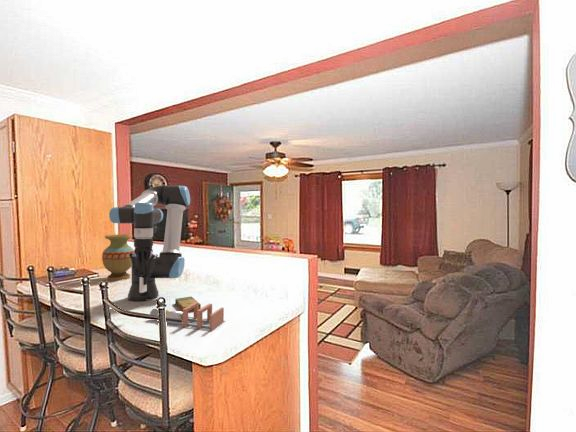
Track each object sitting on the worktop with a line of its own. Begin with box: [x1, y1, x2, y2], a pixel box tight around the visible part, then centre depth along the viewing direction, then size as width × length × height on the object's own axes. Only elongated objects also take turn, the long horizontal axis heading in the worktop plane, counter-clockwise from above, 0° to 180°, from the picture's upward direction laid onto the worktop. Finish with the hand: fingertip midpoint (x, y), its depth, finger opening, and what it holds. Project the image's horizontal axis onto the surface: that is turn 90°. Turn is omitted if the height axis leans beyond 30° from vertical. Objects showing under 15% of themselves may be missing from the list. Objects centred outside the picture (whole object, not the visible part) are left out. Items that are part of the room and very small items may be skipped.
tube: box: [149, 308, 183, 322], centre depth 129 cm, size 16×4×4 cm, turn 75°
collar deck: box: [154, 301, 226, 333], centre depth 127 cm, size 26×12×8 cm, turn 75°
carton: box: [174, 296, 202, 313], centre depth 147 cm, size 8×16×4 cm, turn 33°
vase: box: [101, 233, 135, 281], centre depth 209 cm, size 20×20×30 cm
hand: (143, 291), depth 132 cm, fingers closed
